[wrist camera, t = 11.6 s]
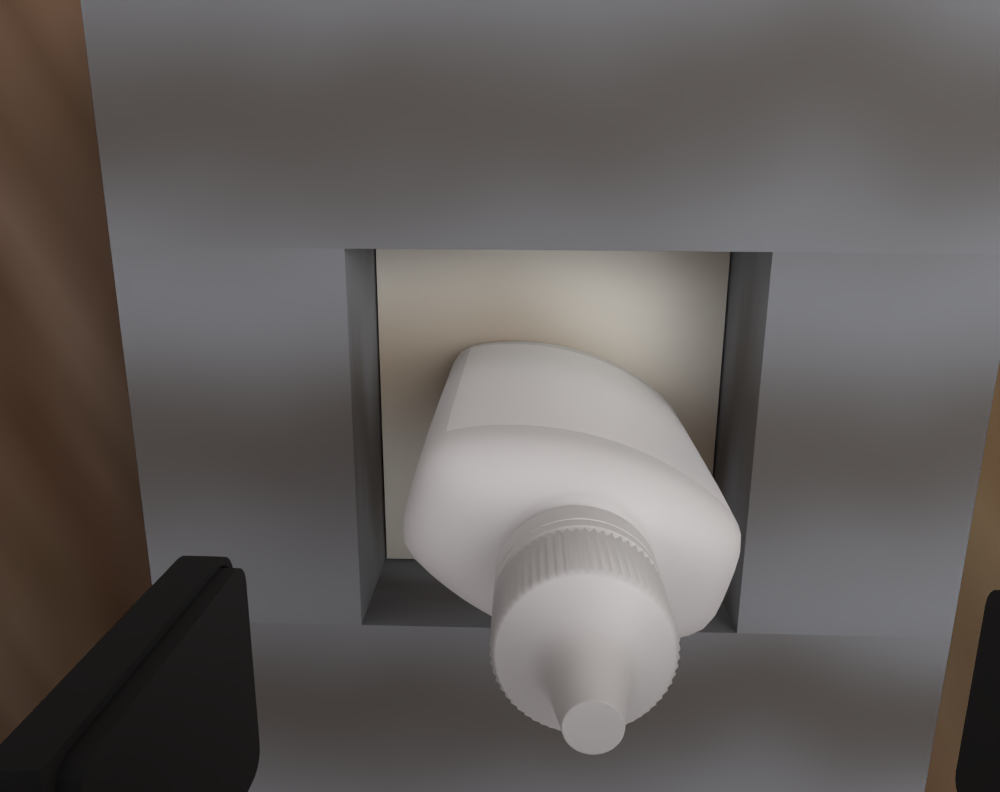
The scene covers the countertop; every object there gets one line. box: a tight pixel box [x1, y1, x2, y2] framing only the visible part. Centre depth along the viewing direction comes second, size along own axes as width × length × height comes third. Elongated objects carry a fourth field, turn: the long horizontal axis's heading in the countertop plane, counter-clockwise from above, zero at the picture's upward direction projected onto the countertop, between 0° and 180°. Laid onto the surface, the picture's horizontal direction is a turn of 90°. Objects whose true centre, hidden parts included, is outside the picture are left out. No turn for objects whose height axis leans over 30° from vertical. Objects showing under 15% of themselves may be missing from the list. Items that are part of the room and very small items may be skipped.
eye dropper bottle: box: [403, 341, 741, 755], centre depth 15 cm, size 4×6×12 cm
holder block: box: [81, 0, 1000, 792], centre depth 19 cm, size 18×18×4 cm
